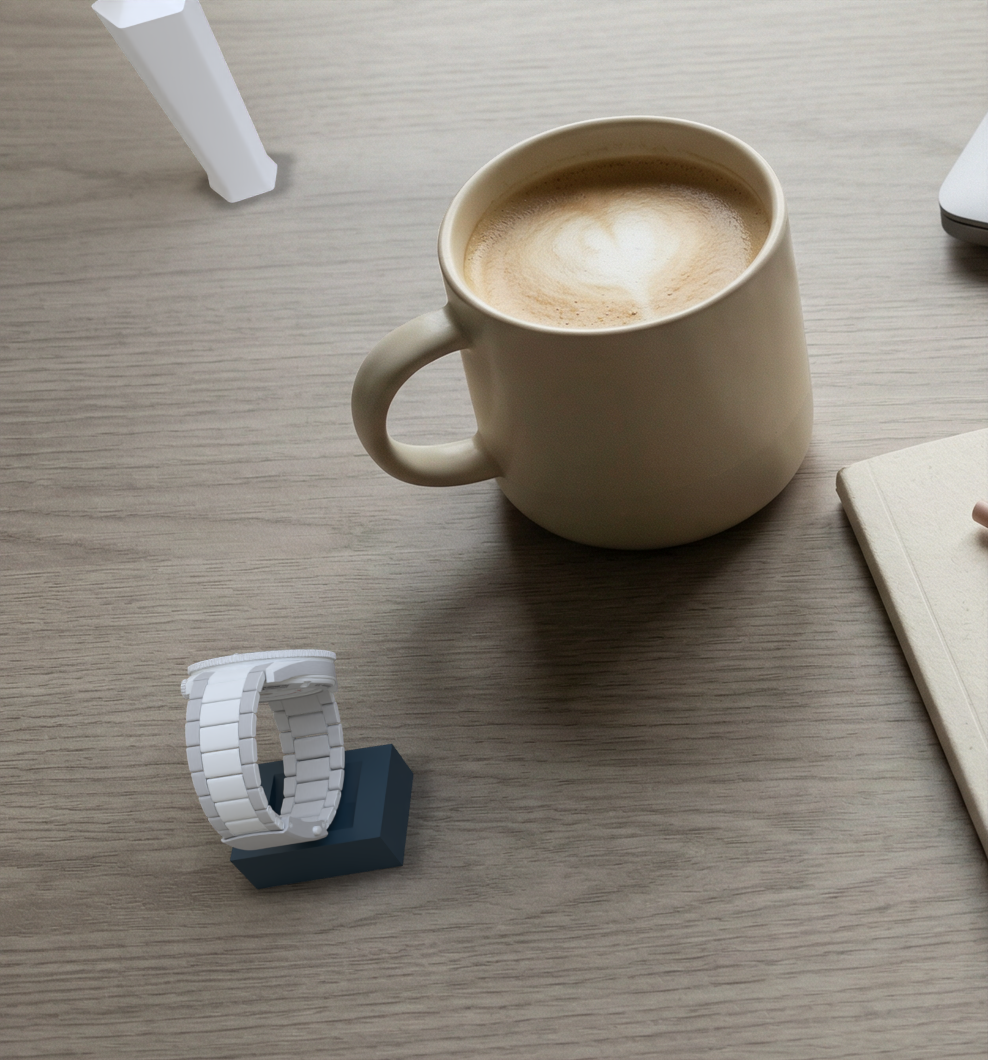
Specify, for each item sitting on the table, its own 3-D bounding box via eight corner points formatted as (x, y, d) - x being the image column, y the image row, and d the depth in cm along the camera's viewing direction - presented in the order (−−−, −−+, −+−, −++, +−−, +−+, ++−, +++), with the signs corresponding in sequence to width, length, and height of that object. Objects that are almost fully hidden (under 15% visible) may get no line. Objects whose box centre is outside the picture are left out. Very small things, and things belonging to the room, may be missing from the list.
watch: (424, 743, 73) (319, 589, 64) (404, 913, 68) (288, 772, 59) (285, 764, 72) (160, 611, 63) (255, 938, 67) (115, 798, 58)
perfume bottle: (284, 153, 96) (155, -87, 85) (303, 196, 94) (174, -44, 82) (198, 180, 95) (55, -60, 83) (216, 225, 92) (71, -15, 81)
